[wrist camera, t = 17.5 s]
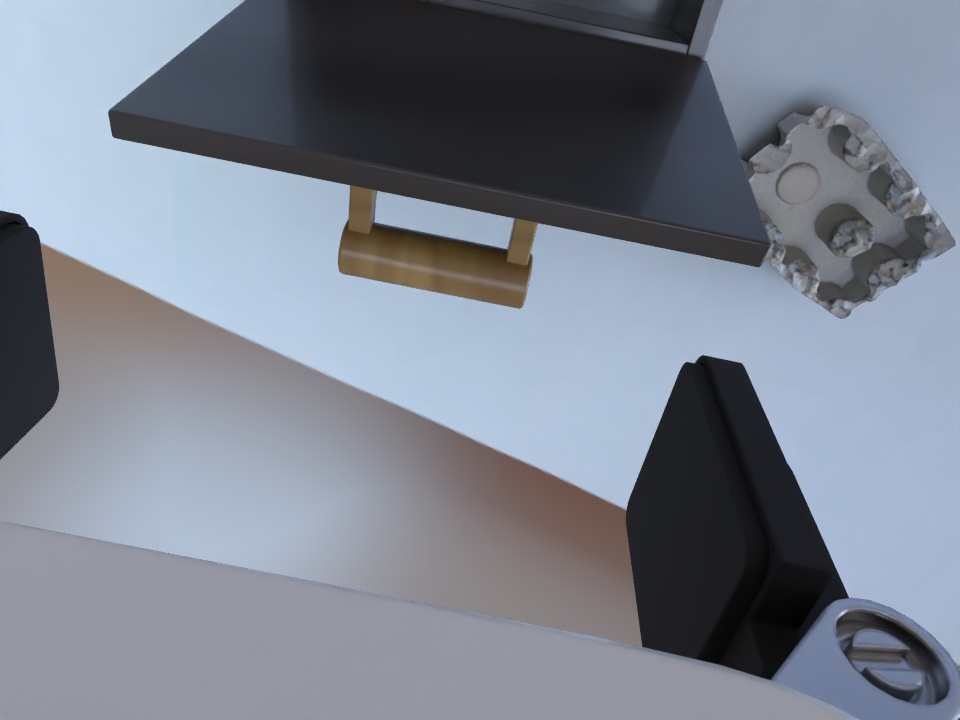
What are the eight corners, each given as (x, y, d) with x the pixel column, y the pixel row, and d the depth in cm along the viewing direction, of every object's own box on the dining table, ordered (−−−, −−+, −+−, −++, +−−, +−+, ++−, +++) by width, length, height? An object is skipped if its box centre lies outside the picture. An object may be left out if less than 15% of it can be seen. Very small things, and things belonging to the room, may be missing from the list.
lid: (106, 110, 19) (134, 266, 23) (773, 244, 20) (705, 378, 23) (279, -29, 30) (281, 90, 33) (707, 60, 31) (667, 169, 34)
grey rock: (702, 181, 40) (716, 205, 37) (823, 78, 37) (851, 95, 34) (814, 307, 44) (837, 340, 40) (935, 222, 41) (971, 251, 37)
